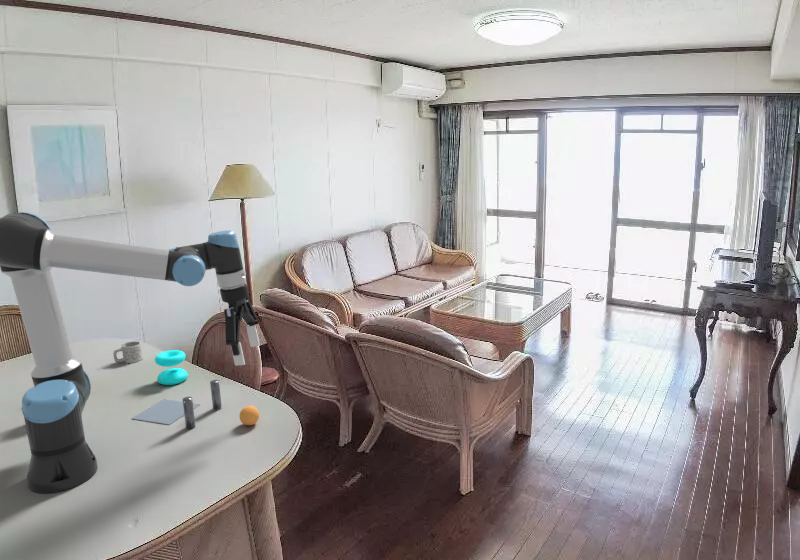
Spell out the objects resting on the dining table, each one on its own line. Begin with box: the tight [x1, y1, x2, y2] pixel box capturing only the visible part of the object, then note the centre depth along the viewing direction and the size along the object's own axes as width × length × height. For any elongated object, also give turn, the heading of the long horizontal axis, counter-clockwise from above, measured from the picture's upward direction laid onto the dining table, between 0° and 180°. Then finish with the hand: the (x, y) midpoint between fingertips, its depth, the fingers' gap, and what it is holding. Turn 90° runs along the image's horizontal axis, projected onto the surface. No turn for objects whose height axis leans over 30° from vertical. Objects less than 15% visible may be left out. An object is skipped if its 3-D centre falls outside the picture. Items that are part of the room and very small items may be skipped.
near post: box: [182, 396, 196, 430], centre depth 167 cm, size 3×3×9 cm
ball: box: [239, 405, 260, 426], centre depth 168 cm, size 6×6×6 cm
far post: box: [209, 379, 223, 411], centre depth 178 cm, size 3×3×9 cm
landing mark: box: [130, 398, 201, 426], centre depth 178 cm, size 14×14×1 cm
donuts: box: [154, 349, 189, 386], centre depth 201 cm, size 10×10×10 cm
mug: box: [113, 340, 144, 364], centre depth 221 cm, size 10×7×7 cm
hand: (248, 355), depth 168 cm, fingers open, 13 cm apart
